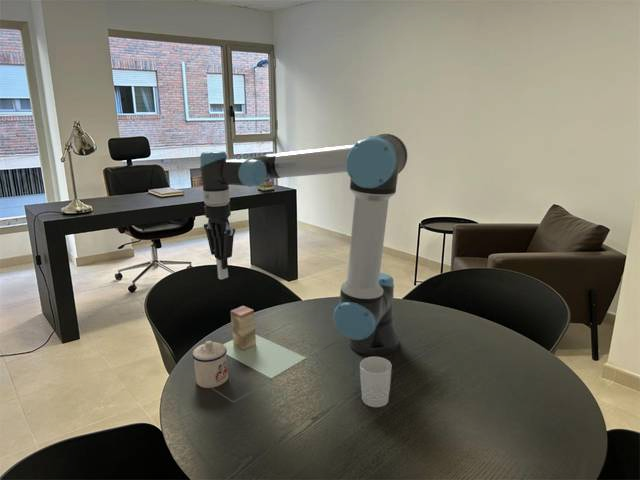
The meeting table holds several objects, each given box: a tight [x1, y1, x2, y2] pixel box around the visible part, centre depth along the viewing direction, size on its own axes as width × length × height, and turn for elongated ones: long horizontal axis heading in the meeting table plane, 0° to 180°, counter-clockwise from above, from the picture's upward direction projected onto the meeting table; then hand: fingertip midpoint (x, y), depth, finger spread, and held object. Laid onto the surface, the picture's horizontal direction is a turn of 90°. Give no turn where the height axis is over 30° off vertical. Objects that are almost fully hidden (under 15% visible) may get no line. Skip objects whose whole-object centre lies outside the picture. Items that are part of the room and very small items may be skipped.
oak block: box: [230, 305, 256, 351], centre depth 143 cm, size 5×5×12 cm
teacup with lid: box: [192, 340, 229, 389], centre depth 127 cm, size 12×9×12 cm
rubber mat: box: [223, 333, 307, 381], centre depth 140 cm, size 26×14×1 cm, turn 48°
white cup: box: [359, 356, 393, 408], centre depth 116 cm, size 8×8×10 cm
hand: (223, 277), depth 144 cm, fingers closed
